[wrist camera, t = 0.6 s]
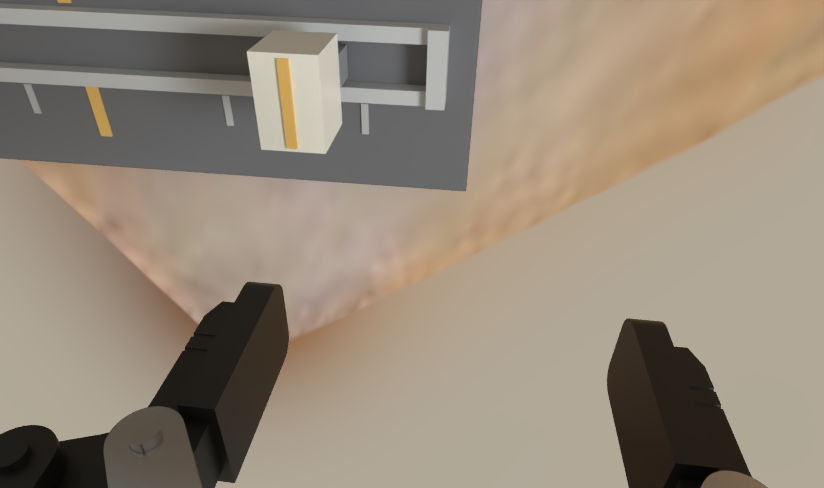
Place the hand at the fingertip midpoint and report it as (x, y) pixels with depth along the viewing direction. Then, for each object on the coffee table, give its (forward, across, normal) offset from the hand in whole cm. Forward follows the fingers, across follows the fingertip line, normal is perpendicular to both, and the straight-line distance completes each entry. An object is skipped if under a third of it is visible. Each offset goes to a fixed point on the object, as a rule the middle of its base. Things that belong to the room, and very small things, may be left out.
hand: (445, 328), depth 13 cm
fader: (+20, +8, 0) cm, 21 cm away
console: (+22, +16, 0) cm, 27 cm away
